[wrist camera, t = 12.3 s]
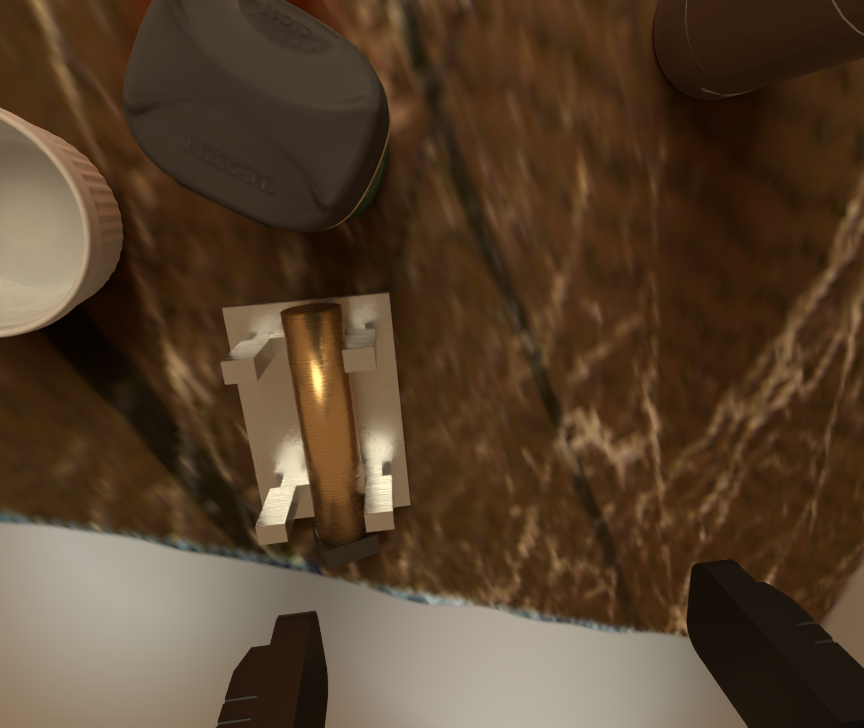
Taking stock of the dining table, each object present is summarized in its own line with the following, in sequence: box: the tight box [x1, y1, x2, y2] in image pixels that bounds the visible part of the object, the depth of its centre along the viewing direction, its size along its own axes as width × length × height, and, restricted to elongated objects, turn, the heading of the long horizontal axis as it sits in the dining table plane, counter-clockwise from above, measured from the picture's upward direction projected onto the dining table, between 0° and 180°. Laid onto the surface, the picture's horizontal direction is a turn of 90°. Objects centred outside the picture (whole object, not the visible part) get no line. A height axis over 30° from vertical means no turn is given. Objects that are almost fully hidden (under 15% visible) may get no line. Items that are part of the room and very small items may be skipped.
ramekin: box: [0, 108, 123, 338], centre depth 32 cm, size 13×13×7 cm
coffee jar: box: [122, 0, 391, 232], centre depth 27 cm, size 10×8×19 cm
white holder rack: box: [221, 291, 410, 545], centre depth 38 cm, size 18×12×7 cm, turn 4°
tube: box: [280, 303, 380, 571], centre depth 38 cm, size 19×4×4 cm, turn 4°
